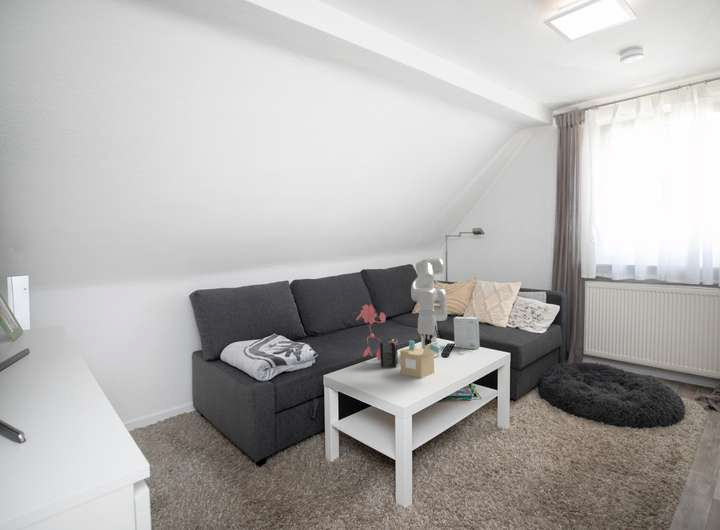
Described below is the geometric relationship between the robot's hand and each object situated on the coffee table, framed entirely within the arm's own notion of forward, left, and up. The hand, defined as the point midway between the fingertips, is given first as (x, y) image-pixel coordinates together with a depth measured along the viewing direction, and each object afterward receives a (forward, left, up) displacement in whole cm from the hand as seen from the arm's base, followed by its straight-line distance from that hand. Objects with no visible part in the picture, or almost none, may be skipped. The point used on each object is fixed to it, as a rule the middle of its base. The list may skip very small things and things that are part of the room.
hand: (428, 346), depth 222 cm
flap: (0, +1, -1) cm, 1 cm away
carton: (0, -8, -16) cm, 18 cm away
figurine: (-3, -47, -16) cm, 50 cm away
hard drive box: (-64, -14, -16) cm, 67 cm away
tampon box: (-2, -30, -16) cm, 34 cm away
